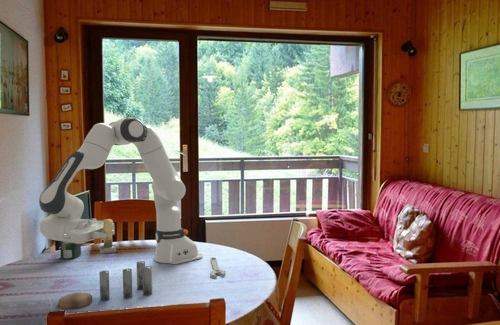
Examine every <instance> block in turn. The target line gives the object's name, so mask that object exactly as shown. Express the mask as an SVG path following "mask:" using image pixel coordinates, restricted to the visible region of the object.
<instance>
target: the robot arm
mask: <svg viewBox="0 0 500 325" xmlns="http://www.w3.org/2000/svg"><path fill="white" fill-rule="evenodd" d="M82 142H83V143H82V144H81V146H80V148H78V150H77V151H73V152H71V153H70V154H69V156H68V157H67V159H65V161H64V162H63V164H62V165H61V167H60V169H59V170H58V171H57V173H56V175H55V176H54V178H53V179H52V180H51V182H50V183H49V185H47V187H46V188H45V189H44V190H43V191H42V192H41V194H40V195H39V198H38V199H39V200H38V202H39V207H40V210H41V211H43V212H44V213H47V214H49V215H48V216H46V217H45V218H43V219H42V220H41V221H40V223H39V230H40V233H41V235H42V236H43V237H44V238H46V239H48V240H54V241H59V242H61V241H64V240H66V241H68V242H71V243H76V244H80V245H81V244H85V243H87V242H90V241H93V240H95V239H104V238H106V237H107V233H105V232H104V220H97V218H86V219H85V218H82V217H83V214H84V211H85V203H84V201H83V200H82V199H80V198H79V197H77V196H75V195H74V194H72V193H69V192H68V191H67V190H68V187H69V185H70V184H71V182H72V181H73V179H74V177H75V176H76V174H77V173H78V172H79V171H80V170H84V169H85V170H95V169H98V168H101V167H102V166H103V165H104V164H105V163H106V161H107V160H108V157H109V155H110V152H111V150H112V148H113V146H124V145H126V146H127V145H130V144H133V145H134V146H135V147H136V148H137V151H138V154H139V156H140V158H141V161H142V163H143V165H144V168H145V169H146V171H147V172H148V174H149V175H150V177H151V179H152V182H151V189H152V193H153V200H154V205H155V213H156V214H155V215H156V228H155V241H156V246H155V247H156V248H155V254H154V256H153V260H154V262H156V263H159V264H160V263H161V264H170V265H171V264H172V265H178V264H182V263H188V262H192V261H196V260H200V259H203V254H202V252H201V251H199V250H198V247H197V244H196V243H195V241H193V240H192V239H190V237H188V236H186V235H188V234H189V231H188V229H185V228H182V220H181V219H182V217H181V215H182V214H181V212H182V211H181V209H180V207H179V206H180V205H179V202H178V201H180V200H182V199H183V198H184V196H185V195H186V191H187V189H186V186H185V184H184V182H183V181H182V179H181V177H180V176H179V174H178V171H177V170H176V168H175V167H174V166H173V164H172V162H171V161H170V158H169V156H168V154H167V152H166V150H165V147H164V145H163V142H162V141H161V138H160V136H159V135H158V133H157V132H156V130H155V129H154V128H153V127H152V126H150V125H145V124H144V122H143V121H142V120H141V119H139V118H136V117H133V116H132V117H126V118H121V119H117V120H116V121H113V122H111V123H109V124H108V123H104V122H99V123H95V124H94V125H93V126H92V128H91V129H90V130H89V131H88V133H87V135H86V137H85V138H84V140H83V141H82ZM115 234H116V228H115V223H114V222H112V236H113V235H114V236H115Z"/></svg>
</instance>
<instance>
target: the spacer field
mask: <svg viewBox="0 0 500 325" xmlns="http://www.w3.org/2000/svg"><path fill="white" fill-rule="evenodd" d="M152 273H153V272H152V266H149V265H147V266H146V261H142V260H141V261H140V260H139V261H137V262H136V289H137V290H142V293H143V294H142V295H143V296H151V295H153V280H152V278H153V277H152V276H153V274H152ZM98 274H99V300H100V301H102V302H106V301H109V300H110V298H111V297H110V271H109V270H101V271H99V273H98ZM122 297H123V299H131V298H132V297H133V270H132V268H129V267H128V268H123V269H122Z"/></svg>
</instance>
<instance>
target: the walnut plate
mask: <svg viewBox="0 0 500 325" xmlns="http://www.w3.org/2000/svg"><path fill="white" fill-rule="evenodd" d="M92 302H93V295H92V294H91V293H88V292H74V293H69V294H66V295H64V296H62V297H60V298H59V299H58V308H60V309H64V310H76V309H77V310H78V309H81V308H85V307H87V306H90V304H92Z"/></svg>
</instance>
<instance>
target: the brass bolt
mask: <svg viewBox="0 0 500 325" xmlns="http://www.w3.org/2000/svg"><path fill="white" fill-rule="evenodd" d="M103 221H104V232H105V233H107V237H106V238H103V245H100V248H99V251H100V252H99V253H100V254H102V255H111V254H115V253H116V252H117V245H115V244H113V235H112V223H113V219H111V218H105V219H103Z"/></svg>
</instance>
